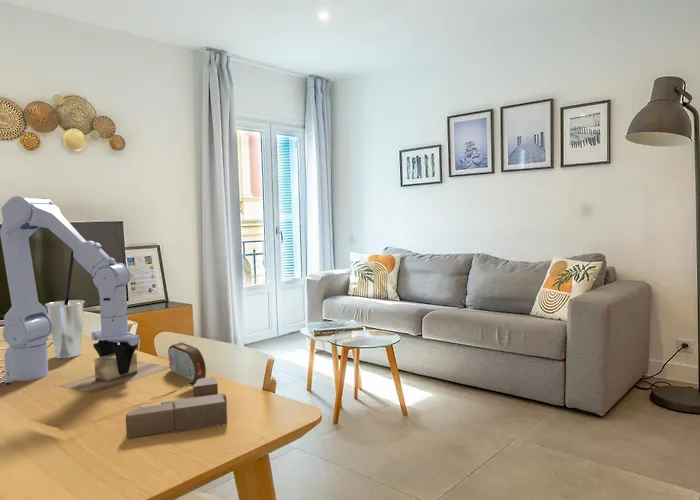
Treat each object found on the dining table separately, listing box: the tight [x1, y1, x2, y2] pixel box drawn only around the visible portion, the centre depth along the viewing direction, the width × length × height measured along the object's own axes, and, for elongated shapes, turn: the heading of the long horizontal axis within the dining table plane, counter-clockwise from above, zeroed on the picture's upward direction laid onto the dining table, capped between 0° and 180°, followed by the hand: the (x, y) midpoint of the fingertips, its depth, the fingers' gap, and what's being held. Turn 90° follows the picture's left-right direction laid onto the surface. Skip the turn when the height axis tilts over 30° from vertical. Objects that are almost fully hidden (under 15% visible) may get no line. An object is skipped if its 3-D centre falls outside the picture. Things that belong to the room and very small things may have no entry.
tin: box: [167, 341, 207, 386], centre depth 124 cm, size 15×3×8 cm, turn 42°
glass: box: [44, 251, 86, 359], centre depth 149 cm, size 11×11×30 cm
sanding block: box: [93, 352, 138, 382], centre depth 124 cm, size 4×8×5 cm, turn 152°
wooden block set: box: [125, 376, 228, 440], centre depth 101 cm, size 17×6×18 cm
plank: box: [59, 361, 170, 394], centre depth 125 cm, size 12×22×1 cm, turn 152°
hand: (116, 372), depth 124 cm, fingers closed on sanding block, 4 cm apart
